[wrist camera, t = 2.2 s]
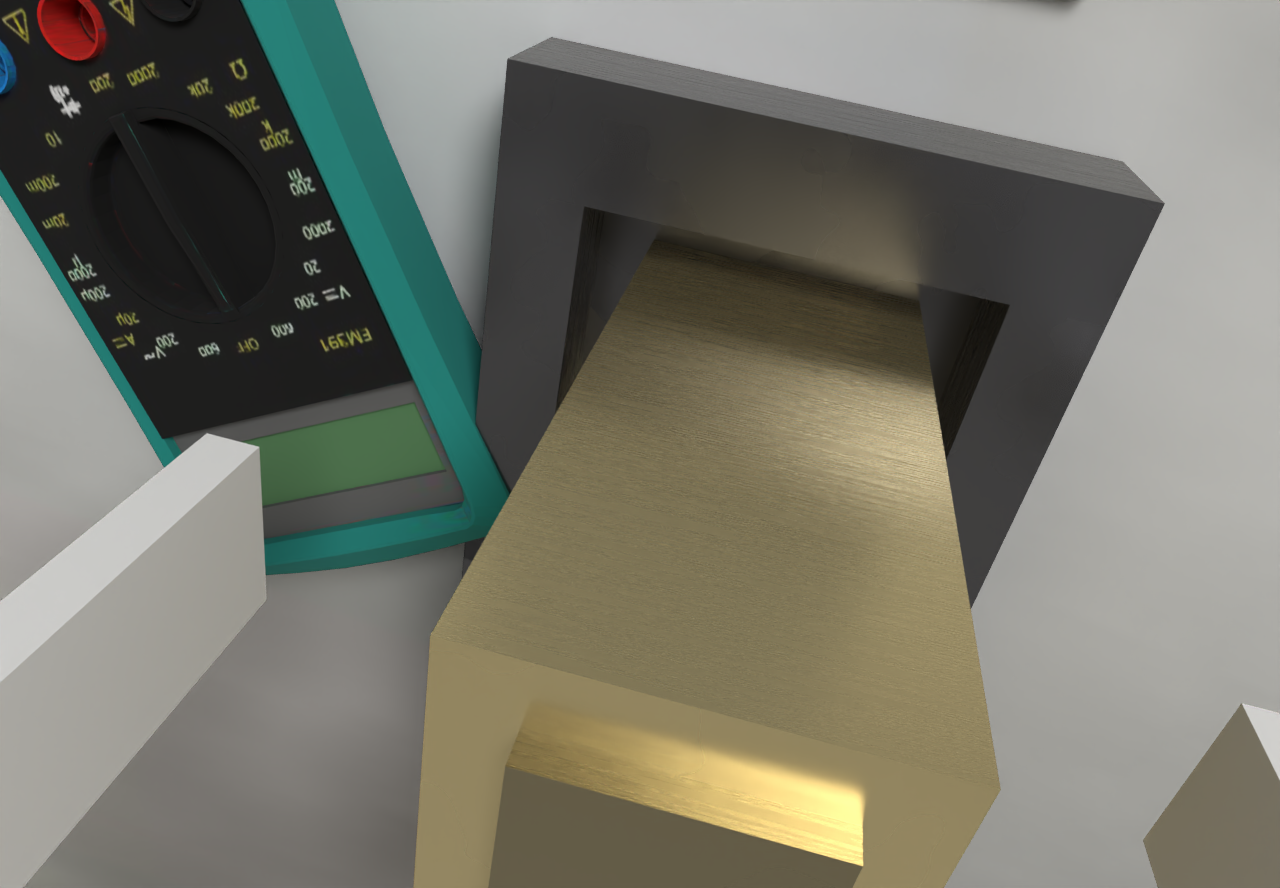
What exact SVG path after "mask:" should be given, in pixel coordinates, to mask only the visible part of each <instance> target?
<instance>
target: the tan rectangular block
mask: <svg viewBox="0 0 1280 888" xmlns="http://www.w3.org/2000/svg"><path fill="white" fill-rule="evenodd" d="M1000 790H1001V789H1000V783H999V777H998V771H997V765H996V759H995V753H994V747H993V741H992V735H991V729H990V723H989V717H988V711H987V705H986V699H985V693H984V687H983V681H982V675H981V669H980V663H979V657H978V651H977V645H976V639H975V633H974V627H973V621H972V615H971V609H970V603H969V597H968V591H967V585H966V579H965V573H964V567H963V561H962V555H961V549H960V542H959V536H958V530H957V524H956V518H955V512H954V506H953V500H952V494H951V488H950V482H949V476H948V470H947V464H946V458H945V452H944V446H943V440H942V434H941V428H940V422H939V416H938V410H937V404H936V398H935V392H934V386H933V380H932V374H931V368H930V362H929V356H928V350H927V344H926V338H925V332H924V326H923V320H922V314H921V308H920V302H919V301H916V300H912V299H908V298H903V297H899V296H895V295H890V294H886V293H882V292H878V291H873V290H869V289H865V288H860V287H856V286H852V285H847V284H843V283H839V282H835V281H830V280H826V279H822V278H817V277H813V276H809V275H804V274H800V273H796V272H792V271H787V270H783V269H779V268H774V267H770V266H766V265H762V264H757V263H753V262H749V261H744V260H740V259H736V258H731V257H727V256H723V255H719V254H714V253H710V252H706V251H701V250H697V249H693V248H688V247H684V246H680V245H676V244H671V243H667V242H663V241H658V240H654V241H653V243H652V244H651V246H650V248H649V250H648V251H647V253H646V255H645V257H644V258H643V260H642V262H641V264H640V266H639V267H638V269H637V271H636V273H635V274H634V276H633V278H632V280H631V281H630V283H629V285H628V287H627V288H626V290H625V292H624V294H623V296H622V297H621V299H620V301H619V303H618V304H617V306H616V308H615V310H614V311H613V313H612V315H611V317H610V319H609V320H608V322H607V324H606V326H605V327H604V329H603V331H602V333H601V334H600V336H599V338H598V340H597V342H596V343H595V345H594V347H593V349H592V350H591V352H590V354H589V356H588V357H587V359H586V361H585V363H584V365H583V366H582V368H581V370H580V372H579V373H578V375H577V377H576V379H575V380H574V382H573V384H572V386H571V388H570V389H569V391H568V393H567V395H566V396H565V398H564V400H563V402H562V403H561V405H560V407H559V409H558V411H557V412H556V414H555V416H554V418H553V419H552V421H551V423H550V425H549V426H548V428H547V430H546V432H545V434H544V435H543V437H542V439H541V441H540V442H539V444H538V446H537V448H536V449H535V451H534V453H533V455H532V456H531V458H530V460H529V462H528V464H527V465H526V467H525V469H524V471H523V472H522V474H521V476H520V478H519V479H518V481H517V483H516V485H515V487H514V488H513V490H512V492H511V494H510V495H509V497H508V499H507V501H506V502H505V504H504V506H503V508H502V510H501V511H500V513H499V515H498V517H497V518H496V520H495V522H494V524H493V525H492V527H491V529H490V531H489V533H488V534H487V536H486V538H485V540H484V541H483V543H482V545H481V547H480V548H479V550H478V552H477V554H476V556H475V557H474V559H473V561H472V563H471V564H470V566H469V568H468V570H467V571H466V573H465V575H464V577H463V579H462V580H461V582H460V584H459V586H458V587H457V589H456V591H455V593H454V594H453V596H452V598H451V600H450V602H449V603H448V605H447V607H446V609H445V610H444V612H443V614H442V616H441V617H440V619H439V621H438V623H437V625H436V626H435V628H434V630H433V632H432V633H431V635H430V647H429V662H428V677H427V692H426V707H425V722H424V737H423V752H422V767H421V782H420V797H419V811H418V826H417V841H416V856H415V871H414V886H413V888H944V886H945V885H946V883H947V881H948V879H949V878H950V876H951V874H952V873H953V871H954V869H955V867H956V866H957V864H958V862H959V860H960V859H961V857H962V855H963V854H964V852H965V850H966V848H967V847H968V845H969V843H970V842H971V840H972V838H973V836H974V835H975V833H976V831H977V830H978V828H979V826H980V824H981V823H982V821H983V819H984V817H985V816H986V814H987V812H988V811H989V809H990V807H991V805H992V804H993V802H994V800H995V799H996V797H997V795H998V793H999V792H1000Z"/></svg>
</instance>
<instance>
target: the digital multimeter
mask: <svg viewBox="0 0 1280 888" xmlns="http://www.w3.org/2000/svg"><path fill="white" fill-rule="evenodd" d="M0 196H1V197H2V199H3V200H4V202H5V204H6V205H7V207H8V208H9V210H10V212H11V213H12V215H13V216H14V218H15V220H16V221H17V223H18V224H19V226H20V228H21V229H22V231H23V232H24V234H25V236H26V237H27V239H28V240H29V242H30V244H31V245H32V247H33V248H34V250H35V252H36V253H37V255H38V256H39V258H40V260H41V261H42V263H43V265H44V266H45V268H46V270H47V271H48V273H49V275H50V276H51V278H52V280H53V281H54V283H55V285H56V286H57V288H58V290H59V291H60V293H61V295H62V296H63V298H64V300H65V301H66V303H67V305H68V306H69V308H70V310H71V311H72V313H73V315H74V316H75V318H76V320H77V321H78V323H79V325H80V326H81V328H82V330H83V331H84V333H85V335H86V336H87V338H88V340H89V341H90V343H91V345H92V346H93V348H94V350H95V351H96V353H97V355H98V356H99V358H100V360H101V361H102V363H103V365H104V366H105V368H106V370H107V371H108V373H109V375H110V376H111V378H112V380H113V381H114V383H115V385H116V386H117V388H118V390H119V391H120V393H121V395H122V396H123V398H124V400H125V401H126V403H127V405H128V406H129V408H130V410H131V411H132V413H133V415H134V417H135V418H136V420H137V422H138V423H139V425H140V427H141V429H142V430H143V432H144V434H145V435H146V437H147V439H148V441H149V442H150V444H151V446H152V447H153V449H154V451H155V453H156V454H157V456H158V458H159V459H160V461H161V463H162V465H163V466H164V468H165V467H166V466H167V465H168V464H170V463H171V462H172V461H173V460H175V459H176V458H177V457H178V456H180V455H181V454H182V453H183V452H184V451H186V450H187V449H188V448H189V447H191V446H192V445H193V444H194V443H195V442H197V441H198V440H199V439H200V438H202V437H203V436H204V435H205V434H207V433H208V434H212V435H216V436H219V437H223V438H227V439H231V440H235V441H239V442H242V443H246V444H250V445H254V446H258V447H259V450H260V471H261V491H262V512H263V533H264V553H265V574H266V575H273V574H288V573H301V572H311V571H320V570H330V569H340V568H348V567H354V566H360V565H366V564H371V563H377V562H383V561H389V560H395V559H399V558H403V557H408V556H412V555H416V554H420V553H425V552H429V551H433V550H437V549H441V548H446V547H449V546H453V545H457V544H460V543H464V542H467V541H471V540H475V539H478V538H482V537H486V536H487V534H488V533H489V531H490V529H491V527H492V525H493V524H494V522H495V520H496V518H497V517H498V515H499V513H500V511H501V510H502V508H503V506H504V504H505V502H506V501H507V499H508V497H509V495H510V494H509V492H508V490H507V488H506V486H505V484H504V482H503V480H502V478H501V476H500V474H499V472H498V470H497V468H496V465H495V463H494V461H493V459H492V457H491V455H490V453H489V451H488V449H487V447H486V445H485V443H484V441H483V439H482V437H481V435H480V433H479V431H478V429H477V427H476V425H475V424H476V413H477V401H478V390H479V379H480V367H481V356H482V350H481V348H480V346H479V344H478V341H477V339H476V337H475V335H474V333H473V331H472V329H471V327H470V325H469V322H468V320H467V318H466V316H465V314H464V312H463V310H462V308H461V305H460V303H459V301H458V299H457V297H456V295H455V292H454V290H453V288H452V285H451V283H450V281H449V278H448V276H447V274H446V271H445V269H444V267H443V264H442V262H441V260H440V258H439V255H438V253H437V251H436V248H435V246H434V244H433V241H432V239H431V237H430V234H429V232H428V230H427V227H426V225H425V223H424V221H423V218H422V216H421V214H420V211H419V209H418V207H417V204H416V202H415V200H414V197H413V195H412V193H411V190H410V188H409V186H408V184H407V181H406V179H405V177H404V174H403V172H402V170H401V167H400V165H399V163H398V160H397V158H396V156H395V153H394V151H393V149H392V146H391V144H390V142H389V140H388V137H387V135H386V133H385V130H384V127H383V125H382V122H381V120H380V117H379V115H378V112H377V109H376V107H375V104H374V102H373V99H372V97H371V94H370V91H369V89H368V86H367V84H366V81H365V78H364V76H363V73H362V71H361V68H360V66H359V63H358V60H357V58H356V55H355V53H354V50H353V47H352V45H351V42H350V40H349V37H348V35H347V32H346V29H345V27H344V24H343V22H342V19H341V16H340V14H339V11H338V9H337V6H336V4H335V1H334V0H0Z"/></svg>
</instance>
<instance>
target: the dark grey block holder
mask: <svg viewBox="0 0 1280 888" xmlns="http://www.w3.org/2000/svg"><path fill="white" fill-rule="evenodd" d="M1164 204H1165V203H1164V202H1163V201H1162V200H1161V199H1160V198H1159V197H1158V196H1157V195H1156V194H1155V193H1154V192H1153V191H1152V190H1151V189H1150V188H1149V187H1148V186H1147V185H1146V184H1145V183H1144V182H1143V181H1142V180H1141V179H1140V178H1139V177H1138V176H1137V175H1136V174H1135V173H1134V172H1133V171H1132V170H1131V169H1130V168H1129V167H1128V166H1127V165H1126V164H1125V163H1124V162H1122V161H1117V160H1113V159H1108V158H1104V157H1099V156H1094V155H1090V154H1085V153H1081V152H1076V151H1072V150H1067V149H1062V148H1058V147H1053V146H1049V145H1044V144H1039V143H1035V142H1030V141H1026V140H1021V139H1016V138H1012V137H1007V136H1003V135H998V134H993V133H989V132H984V131H980V130H975V129H970V128H966V127H961V126H957V125H952V124H948V123H943V122H938V121H934V120H929V119H925V118H920V117H915V116H911V115H906V114H902V113H897V112H892V111H888V110H883V109H879V108H874V107H869V106H865V105H860V104H856V103H851V102H847V101H842V100H837V99H833V98H828V97H824V96H819V95H814V94H810V93H805V92H801V91H796V90H791V89H787V88H782V87H778V86H773V85H768V84H764V83H759V82H755V81H750V80H745V79H741V78H736V77H732V76H727V75H723V74H718V73H713V72H709V71H704V70H700V69H695V68H690V67H686V66H681V65H677V64H672V63H667V62H663V61H658V60H654V59H649V58H644V57H640V56H635V55H631V54H626V53H622V52H617V51H612V50H608V49H603V48H599V47H594V46H589V45H585V44H580V43H576V42H571V41H566V40H562V39H557V38H553V37H551V38H549V39H547V40H545V41H543V42H541V43H539V44H537V45H535V46H533V47H531V48H529V49H527V50H524V51H522V52H520V53H518V54H516V55H514V56H512V57H510V58H508V60H507V71H506V83H505V94H504V105H503V117H502V128H501V139H500V151H499V162H498V174H497V185H496V196H495V208H494V219H493V231H492V242H491V253H490V265H489V276H488V288H487V299H486V310H485V322H484V333H483V344H482V356H481V367H480V379H479V390H478V401H477V413H476V424H475V425H476V427H477V429H478V431H479V433H480V435H481V437H482V439H483V441H484V443H485V445H486V447H487V449H488V451H489V453H490V455H491V457H492V459H493V461H494V463H495V465H496V468H497V470H498V472H499V474H500V476H501V478H502V480H503V482H504V484H505V486H506V488H507V490H508V492H509V494H511V492H512V490H513V488H514V487H515V485H516V483H517V481H518V479H519V478H520V476H521V474H522V472H523V471H524V469H525V467H526V465H527V464H528V462H529V460H530V458H531V456H532V455H533V453H534V451H535V449H536V448H537V446H538V444H539V442H540V441H541V439H542V437H543V435H544V434H545V432H546V430H547V428H548V426H549V425H550V423H551V421H552V419H553V418H554V416H555V414H556V412H557V411H558V409H559V407H560V405H561V403H562V402H563V400H564V398H565V396H566V395H567V393H568V391H569V389H570V388H571V386H572V384H573V382H574V380H575V379H576V377H577V375H578V373H579V372H580V370H581V368H582V366H583V365H584V363H585V361H586V359H587V357H588V356H589V354H590V352H591V350H592V349H593V347H594V345H595V343H596V342H597V340H598V338H599V336H600V334H601V333H602V331H603V329H604V327H605V326H606V324H607V322H608V320H609V319H610V317H611V315H612V313H613V311H614V310H615V308H616V306H617V304H618V303H619V301H620V299H621V297H622V296H623V294H624V292H625V290H626V288H627V287H628V285H629V283H630V281H631V280H632V278H633V276H634V274H635V273H636V271H637V269H638V267H639V266H640V264H641V262H642V260H643V258H644V257H645V255H646V253H647V251H648V250H649V248H650V246H651V244H652V243H653V241H654V240H658V241H663V242H667V243H671V244H676V245H680V246H684V247H688V248H693V249H697V250H701V251H706V252H710V253H714V254H719V255H723V256H727V257H731V258H736V259H740V260H744V261H749V262H753V263H757V264H762V265H766V266H770V267H774V268H779V269H783V270H787V271H792V272H796V273H800V274H804V275H809V276H813V277H817V278H822V279H826V280H830V281H835V282H839V283H843V284H847V285H852V286H856V287H860V288H865V289H869V290H873V291H878V292H882V293H886V294H890V295H895V296H899V297H903V298H908V299H912V300H916V301H919V302H920V308H921V314H922V320H923V326H924V332H925V338H926V344H927V350H928V356H929V362H930V368H931V374H932V380H933V386H934V392H935V398H936V404H937V410H938V416H939V422H940V428H941V434H942V440H943V446H944V452H945V458H946V464H947V470H948V476H949V482H950V488H951V494H952V500H953V506H954V512H955V518H956V524H957V530H958V536H959V542H960V549H961V555H962V561H963V567H964V573H965V579H966V585H967V591H968V597H969V603H970V609H971V608H972V606H973V603H974V601H975V599H976V597H977V595H978V593H979V591H980V589H981V587H982V585H983V583H984V580H985V578H986V576H987V574H988V572H989V570H990V568H991V566H992V564H993V562H994V560H995V557H996V555H997V553H998V551H999V549H1000V547H1001V545H1002V543H1003V541H1004V539H1005V537H1006V534H1007V532H1008V530H1009V528H1010V526H1011V524H1012V522H1013V520H1014V518H1015V516H1016V514H1017V511H1018V509H1019V507H1020V505H1021V503H1022V501H1023V499H1024V497H1025V495H1026V493H1027V491H1028V488H1029V486H1030V484H1031V482H1032V480H1033V478H1034V476H1035V474H1036V472H1037V470H1038V468H1039V465H1040V463H1041V461H1042V459H1043V457H1044V455H1045V453H1046V451H1047V449H1048V447H1049V445H1050V442H1051V440H1052V438H1053V436H1054V434H1055V432H1056V430H1057V428H1058V426H1059V424H1060V422H1061V419H1062V417H1063V415H1064V413H1065V411H1066V409H1067V407H1068V405H1069V403H1070V401H1071V399H1072V396H1073V394H1074V392H1075V390H1076V388H1077V386H1078V384H1079V382H1080V380H1081V378H1082V376H1083V373H1084V371H1085V369H1086V367H1087V365H1088V363H1089V361H1090V359H1091V357H1092V355H1093V353H1094V350H1095V348H1096V346H1097V344H1098V342H1099V340H1100V338H1101V336H1102V334H1103V332H1104V330H1105V327H1106V325H1107V323H1108V321H1109V319H1110V317H1111V315H1112V313H1113V311H1114V309H1115V307H1116V304H1117V302H1118V300H1119V298H1120V296H1121V294H1122V292H1123V290H1124V288H1125V286H1126V284H1127V281H1128V279H1129V277H1130V275H1131V273H1132V271H1133V269H1134V267H1135V265H1136V263H1137V261H1138V258H1139V256H1140V254H1141V252H1142V250H1143V248H1144V246H1145V244H1146V242H1147V240H1148V238H1149V235H1150V233H1151V231H1152V229H1153V227H1154V225H1155V223H1156V221H1157V219H1158V217H1159V215H1160V212H1161V210H1162V208H1163V206H1164ZM485 538H486V537H482V538H478V539H475V540H471V541H467V542H465V550H464V561H463V572H462V579H463V577H464V575H465V573H466V571H467V570H468V568H469V566H470V564H471V563H472V561H473V559H474V557H475V556H476V554H477V552H478V550H479V548H480V547H481V545H482V543H483V541H484V540H485Z"/></svg>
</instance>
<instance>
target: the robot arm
mask: <svg viewBox="0 0 1280 888" xmlns="http://www.w3.org/2000/svg"><path fill="white" fill-rule="evenodd" d="M266 600H267V595H266V574H265V553H264V533H263V512H262V491H261V471H260V450H259V447H258V446H254V445H250V444H246V443H242V442H239V441H235V440H231V439H227V438H223V437H219V436H216V435H212V434H208V433H207V434H205V435H204V436H203V437H202V438H200V439H199V440H198V441H197V442H195V443H194V444H193V445H192V446H191V447H189V448H188V449H187V450H186V451H184V452H183V453H182V454H181V455H180V456H178V457H177V458H176V459H175V460H173V461H172V462H171V463H170V464H168V465H167V466H166V467H165V468H164V469H162V470H161V471H160V472H159V473H157V474H156V475H155V476H154V477H152V478H151V479H150V480H149V481H148V482H146V483H145V484H144V485H143V486H141V487H140V488H139V489H138V490H137V491H135V492H134V493H133V494H132V495H130V496H129V497H128V498H127V499H125V500H124V501H123V502H122V503H121V504H119V505H118V506H117V507H116V508H114V509H113V510H112V511H111V512H109V513H108V514H107V515H106V516H105V517H103V518H102V519H101V520H100V521H98V522H97V523H96V524H95V525H94V526H92V527H91V528H90V529H89V530H87V531H86V532H85V533H84V534H82V535H81V536H80V537H79V538H78V539H76V540H75V541H74V542H73V543H71V544H70V545H69V546H68V547H66V548H65V549H64V550H63V551H62V552H60V553H59V554H58V555H57V556H55V557H54V558H53V559H52V560H51V561H49V562H48V563H47V564H46V565H44V566H43V567H42V568H41V569H39V570H38V571H37V572H36V573H35V574H33V575H32V576H31V577H30V578H28V579H27V580H26V581H25V582H23V583H22V584H21V585H20V586H19V587H17V588H16V589H15V590H14V591H12V592H11V593H10V594H9V595H8V596H6V597H5V598H4V599H3V600H1V601H0V888H23V887H24V886H25V885H26V884H27V883H28V881H29V880H30V879H31V878H32V877H33V875H34V874H35V873H36V872H37V871H38V870H39V868H40V867H41V866H42V865H43V864H44V862H45V861H46V860H47V859H48V858H49V857H50V855H51V854H52V853H53V852H54V851H55V849H56V848H57V847H58V846H59V845H60V844H61V842H62V841H63V840H64V839H65V838H66V836H67V835H68V834H69V833H70V832H71V831H72V829H73V828H74V827H75V826H76V825H77V823H78V822H79V821H80V820H81V819H82V818H83V816H84V815H85V814H86V813H87V812H88V810H89V809H90V808H91V807H92V806H93V805H94V803H95V802H96V801H97V800H98V799H99V797H100V796H101V795H102V794H103V793H104V792H105V790H106V789H107V788H108V787H109V786H110V784H111V783H112V782H113V781H114V780H115V779H116V777H117V776H118V775H119V774H120V773H121V771H122V770H123V769H124V768H125V767H126V766H127V764H128V763H129V762H130V761H131V760H132V758H133V757H134V756H135V755H136V754H137V753H138V751H139V750H140V749H141V748H142V747H143V745H144V744H145V743H146V742H147V741H148V739H149V738H150V737H151V736H152V735H153V734H154V732H155V731H156V730H157V729H158V728H159V726H160V725H161V724H162V723H163V722H164V721H165V719H166V718H167V717H168V716H169V715H170V713H171V712H172V711H173V710H174V709H175V708H176V706H177V705H178V704H179V703H180V702H181V700H182V699H183V698H184V697H185V696H186V695H187V693H188V692H189V691H190V690H191V689H192V687H193V686H194V685H195V684H196V683H197V682H198V680H199V679H200V678H201V677H202V676H203V674H204V673H205V672H206V671H207V670H208V669H209V667H210V666H211V665H212V664H213V663H214V661H215V660H216V659H217V658H218V657H219V656H220V654H221V653H222V652H223V651H224V650H225V648H226V647H227V646H228V645H229V644H230V643H231V641H232V640H233V639H234V638H235V637H236V635H237V634H238V633H239V632H240V631H241V630H242V628H243V627H244V626H245V625H246V624H247V622H248V621H249V620H250V619H251V618H252V617H253V615H254V614H255V613H256V612H257V611H258V609H259V608H260V607H261V606H262V605H263V604H264V602H265V601H266ZM1143 842H1144V845H1145V848H1146V851H1147V854H1148V857H1149V861H1150V864H1151V867H1152V870H1153V873H1154V877H1155V880H1156V883H1157V886H1158V888H1280V713H1277V712H1273V711H1269V710H1266V709H1262V708H1258V707H1254V706H1250V705H1246V704H1243V703H1242V704H1241V705H1240V707H1239V708H1238V709H1237V711H1236V712H1235V713H1234V715H1233V716H1232V718H1231V719H1230V720H1229V722H1228V723H1227V725H1226V726H1225V727H1224V729H1223V730H1222V731H1221V733H1220V734H1219V736H1218V737H1217V738H1216V740H1215V741H1214V743H1213V744H1212V745H1211V747H1210V748H1209V750H1208V751H1207V752H1206V754H1205V755H1204V756H1203V758H1202V759H1201V761H1200V762H1199V763H1198V765H1197V766H1196V768H1195V769H1194V770H1193V772H1192V773H1191V774H1190V776H1189V777H1188V779H1187V780H1186V781H1185V783H1184V784H1183V786H1182V787H1181V788H1180V790H1179V791H1178V793H1177V794H1176V795H1175V797H1174V798H1173V799H1172V801H1171V802H1170V804H1169V805H1168V806H1167V808H1166V809H1165V811H1164V812H1163V813H1162V815H1161V816H1160V817H1159V819H1158V820H1157V822H1156V823H1155V824H1154V826H1153V827H1152V829H1151V830H1150V831H1149V833H1148V834H1147V836H1146V837H1145V838H1144V840H1143Z"/></svg>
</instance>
